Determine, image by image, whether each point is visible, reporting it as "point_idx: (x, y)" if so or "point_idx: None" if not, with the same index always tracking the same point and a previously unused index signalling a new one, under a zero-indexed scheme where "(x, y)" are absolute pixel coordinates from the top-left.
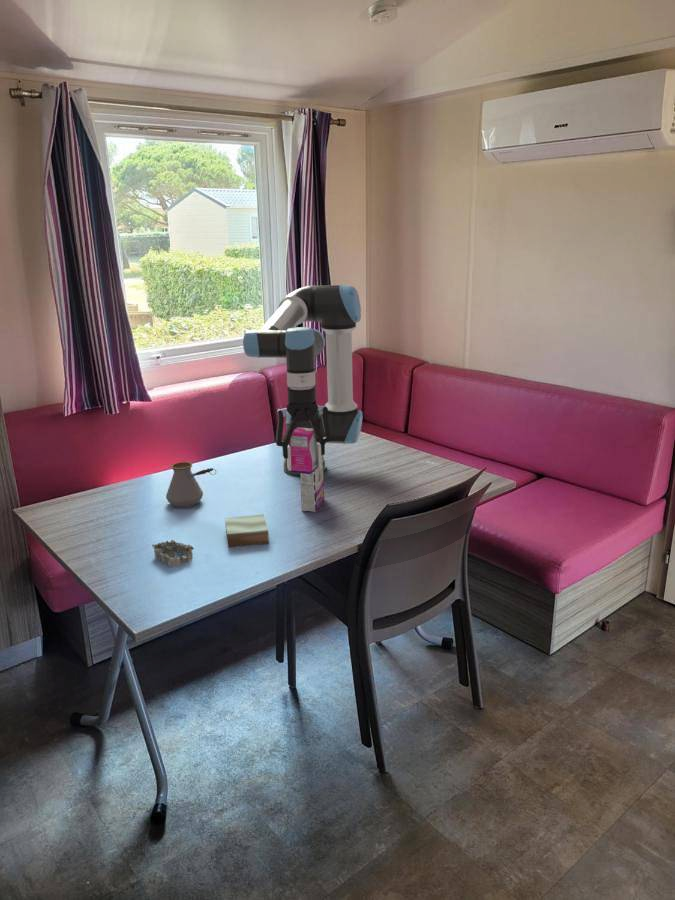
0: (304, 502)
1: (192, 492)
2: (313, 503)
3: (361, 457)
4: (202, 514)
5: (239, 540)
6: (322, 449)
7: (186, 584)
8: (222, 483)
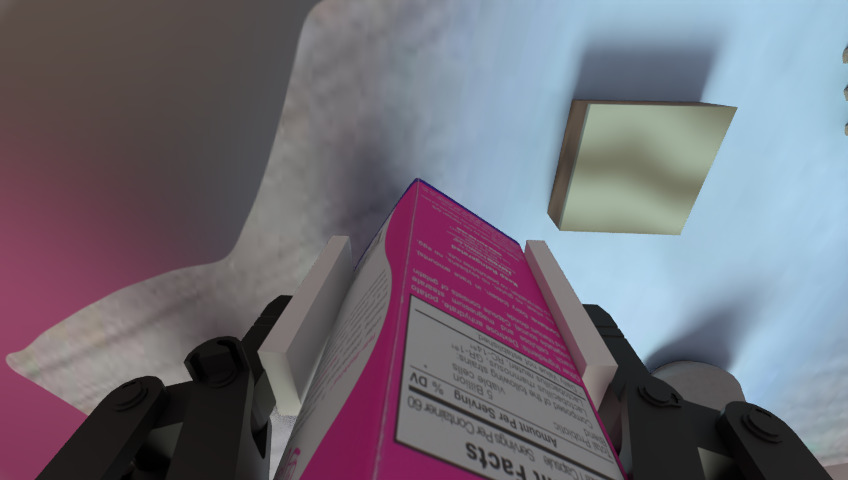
0: None
1: (694, 391)
2: None
3: None
4: (666, 321)
5: (676, 103)
6: (270, 328)
7: None
8: None
